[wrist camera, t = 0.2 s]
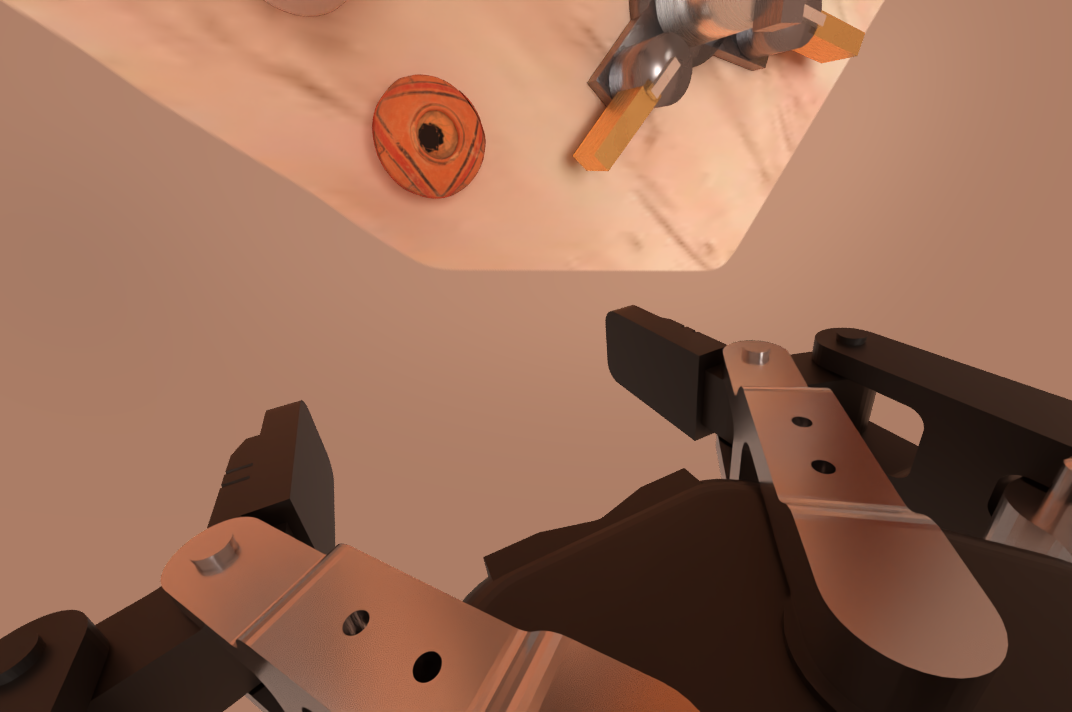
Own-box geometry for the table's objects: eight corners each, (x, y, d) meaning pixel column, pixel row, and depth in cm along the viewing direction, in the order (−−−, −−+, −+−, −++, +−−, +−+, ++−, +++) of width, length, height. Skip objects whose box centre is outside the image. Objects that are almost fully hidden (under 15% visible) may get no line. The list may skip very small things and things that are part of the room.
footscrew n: (729, 50, 40) (777, 37, 36) (746, -13, 39) (798, -35, 34) (806, 82, 45) (857, 73, 41) (824, 26, 43) (878, 11, 39)
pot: (373, 201, 34) (377, 182, 28) (367, 93, 33) (370, 48, 27) (473, 208, 37) (497, 192, 31) (471, 109, 36) (496, 72, 30)
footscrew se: (633, 31, 36) (674, 13, 32) (665, 78, 39) (707, 67, 35) (555, 143, 37) (585, 140, 33) (591, 182, 40) (624, 184, 35)
